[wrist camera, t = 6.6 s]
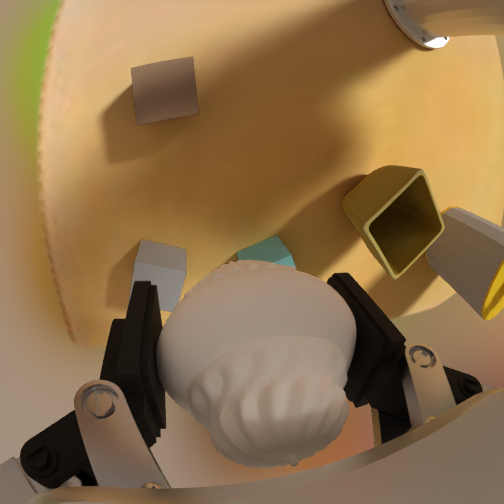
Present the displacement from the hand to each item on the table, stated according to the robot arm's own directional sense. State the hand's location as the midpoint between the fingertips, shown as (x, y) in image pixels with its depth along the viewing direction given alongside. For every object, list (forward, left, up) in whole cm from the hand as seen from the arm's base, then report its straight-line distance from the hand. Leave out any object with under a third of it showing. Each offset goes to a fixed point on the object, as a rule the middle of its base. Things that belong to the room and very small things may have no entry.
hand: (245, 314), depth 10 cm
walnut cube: (-9, -4, -20) cm, 23 cm away
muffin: (0, 0, -1) cm, 1 cm away
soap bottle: (+6, +39, -21) cm, 44 cm away
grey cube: (+9, -5, -20) cm, 23 cm away
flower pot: (+1, +19, -21) cm, 28 cm away
